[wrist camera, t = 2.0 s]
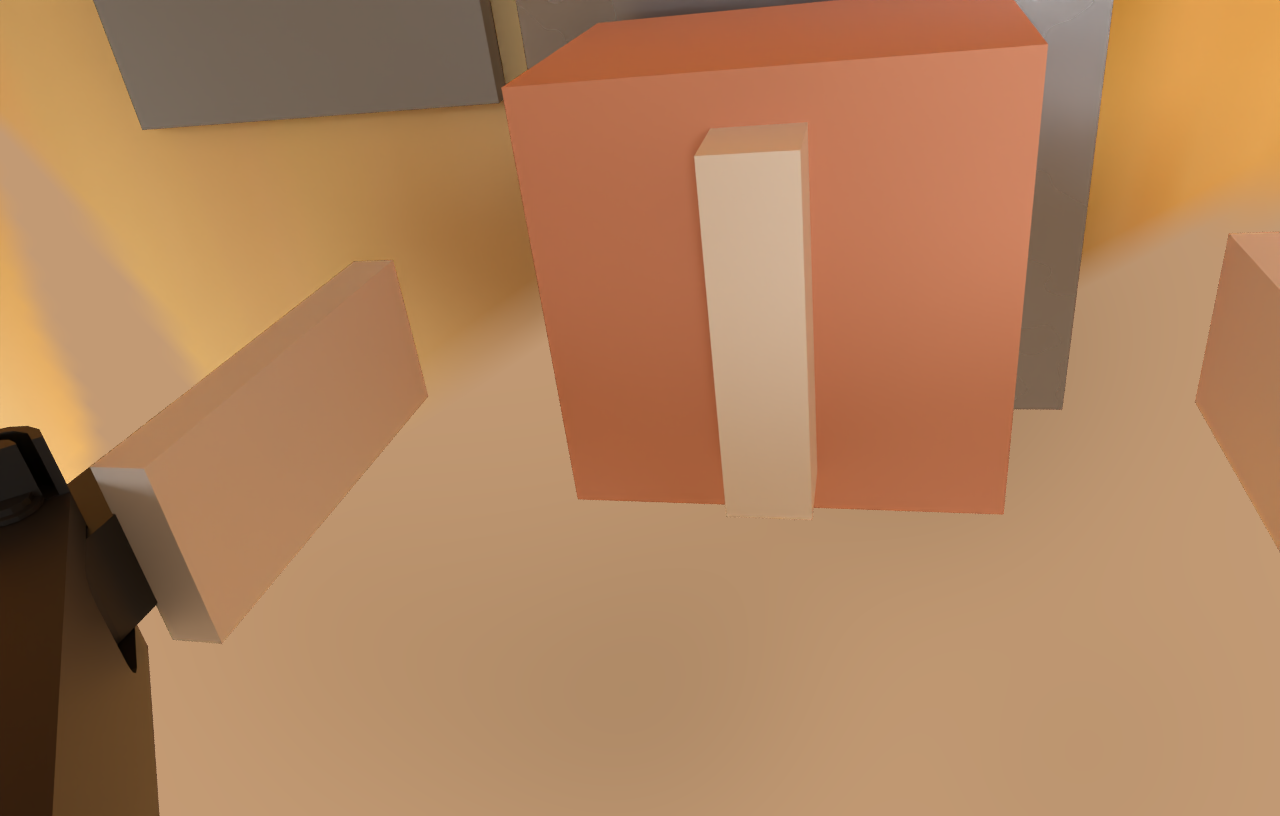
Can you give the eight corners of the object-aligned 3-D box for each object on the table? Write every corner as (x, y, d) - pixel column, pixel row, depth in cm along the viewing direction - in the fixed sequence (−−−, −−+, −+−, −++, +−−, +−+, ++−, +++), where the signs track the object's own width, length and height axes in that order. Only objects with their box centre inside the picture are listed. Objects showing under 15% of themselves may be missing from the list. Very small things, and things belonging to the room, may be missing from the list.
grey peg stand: (515, -96, 20) (367, -67, 14) (1123, -175, 17) (1244, -179, 11) (594, 386, 26) (512, 544, 20) (1055, 388, 23) (1113, 574, 17)
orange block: (598, 22, 19) (467, 111, 13) (1001, -16, 17) (1065, 66, 11) (642, 358, 23) (556, 545, 17) (975, 357, 21) (1012, 568, 15)
